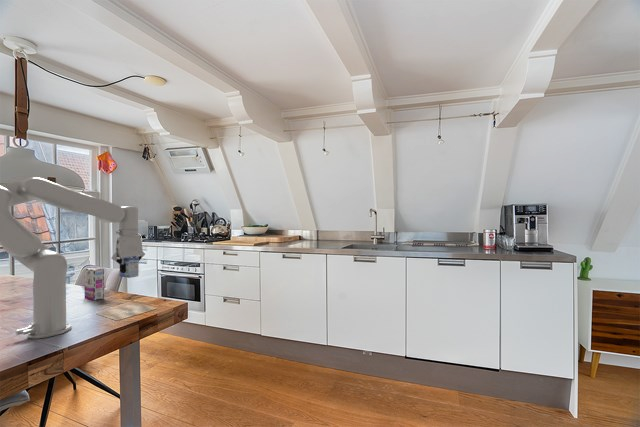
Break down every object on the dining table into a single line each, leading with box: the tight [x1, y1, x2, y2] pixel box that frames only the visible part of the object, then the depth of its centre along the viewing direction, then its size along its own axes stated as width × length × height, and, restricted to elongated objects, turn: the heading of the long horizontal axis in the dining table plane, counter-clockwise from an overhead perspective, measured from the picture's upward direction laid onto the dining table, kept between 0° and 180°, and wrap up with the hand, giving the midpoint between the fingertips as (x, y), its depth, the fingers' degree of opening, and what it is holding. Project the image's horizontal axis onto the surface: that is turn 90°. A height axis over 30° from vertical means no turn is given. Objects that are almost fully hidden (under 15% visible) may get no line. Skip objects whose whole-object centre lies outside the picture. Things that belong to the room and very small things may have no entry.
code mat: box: [96, 302, 158, 322], centre depth 140 cm, size 18×18×1 cm
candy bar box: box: [83, 266, 105, 302], centre depth 162 cm, size 11×5×16 cm, turn 60°
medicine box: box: [119, 257, 140, 279], centre depth 139 cm, size 8×4×9 cm, turn 62°
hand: (129, 271), depth 139 cm, fingers closed on medicine box, 4 cm apart
